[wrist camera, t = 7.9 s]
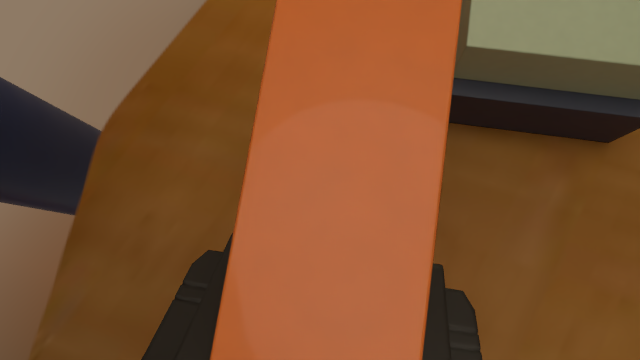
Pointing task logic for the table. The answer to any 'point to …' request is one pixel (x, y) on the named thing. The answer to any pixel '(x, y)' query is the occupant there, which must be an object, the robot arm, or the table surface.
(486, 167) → the table surface
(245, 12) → the table surface
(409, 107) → the orange box
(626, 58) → the box stack
